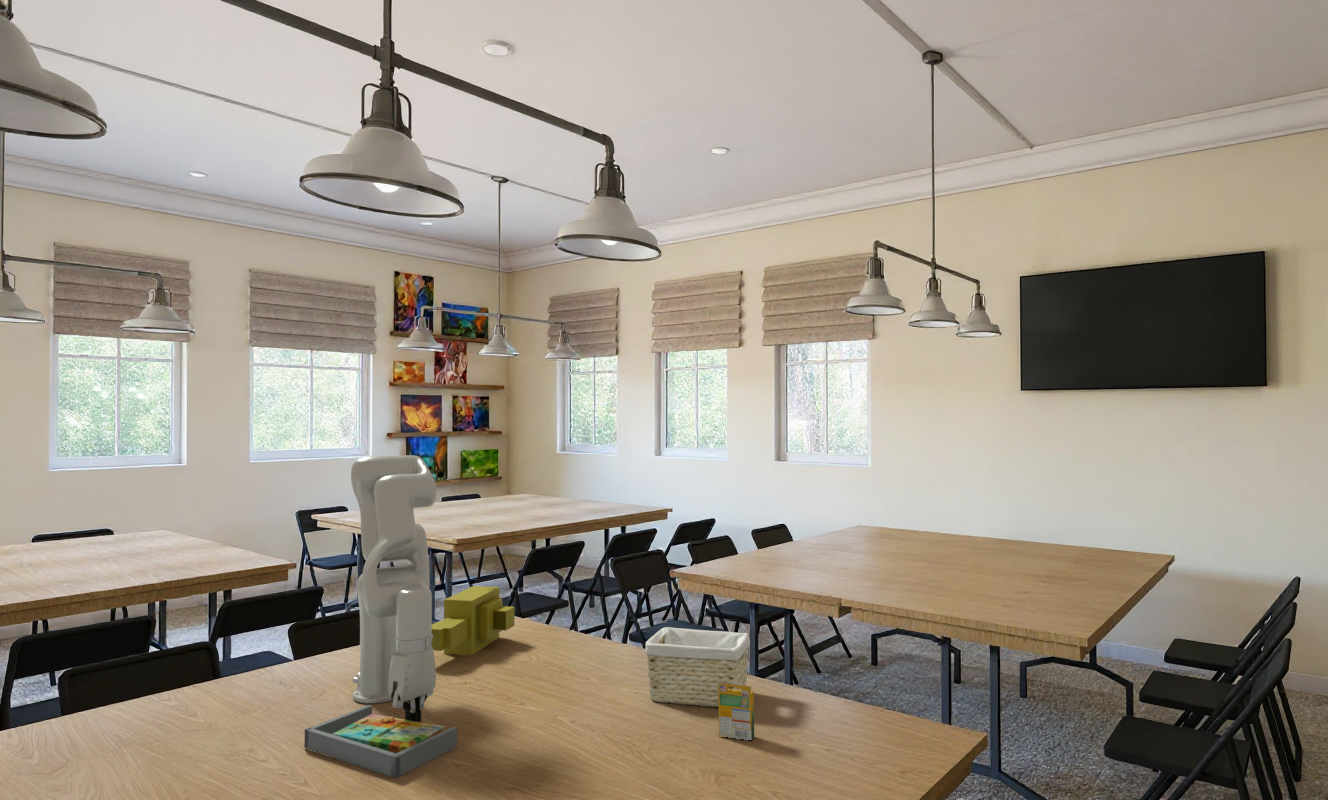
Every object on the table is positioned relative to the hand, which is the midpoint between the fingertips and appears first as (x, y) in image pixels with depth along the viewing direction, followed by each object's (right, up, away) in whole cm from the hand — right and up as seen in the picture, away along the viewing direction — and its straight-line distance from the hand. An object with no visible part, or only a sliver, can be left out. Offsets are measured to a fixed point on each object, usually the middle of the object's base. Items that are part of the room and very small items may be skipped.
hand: (413, 728), depth 167 cm
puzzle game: (-3, -1, -8) cm, 8 cm away
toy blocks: (-2, -4, +62) cm, 62 cm away
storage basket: (+64, -2, +23) cm, 68 cm away
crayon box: (+71, -1, -2) cm, 71 cm away
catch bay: (-4, -1, -7) cm, 8 cm away
